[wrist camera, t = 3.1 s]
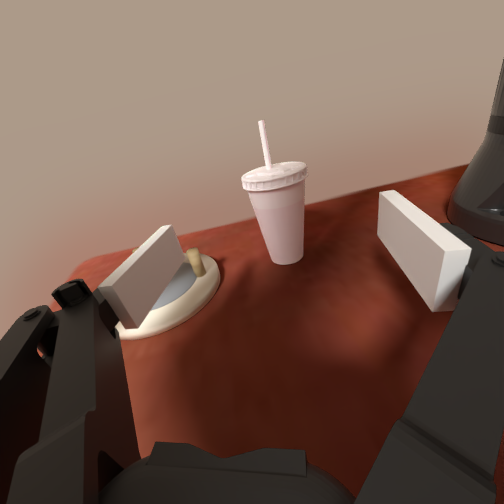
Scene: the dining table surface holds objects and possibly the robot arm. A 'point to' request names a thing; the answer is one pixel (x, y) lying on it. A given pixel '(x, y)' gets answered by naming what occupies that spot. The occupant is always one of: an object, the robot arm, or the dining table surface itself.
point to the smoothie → (278, 204)
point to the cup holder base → (179, 297)
